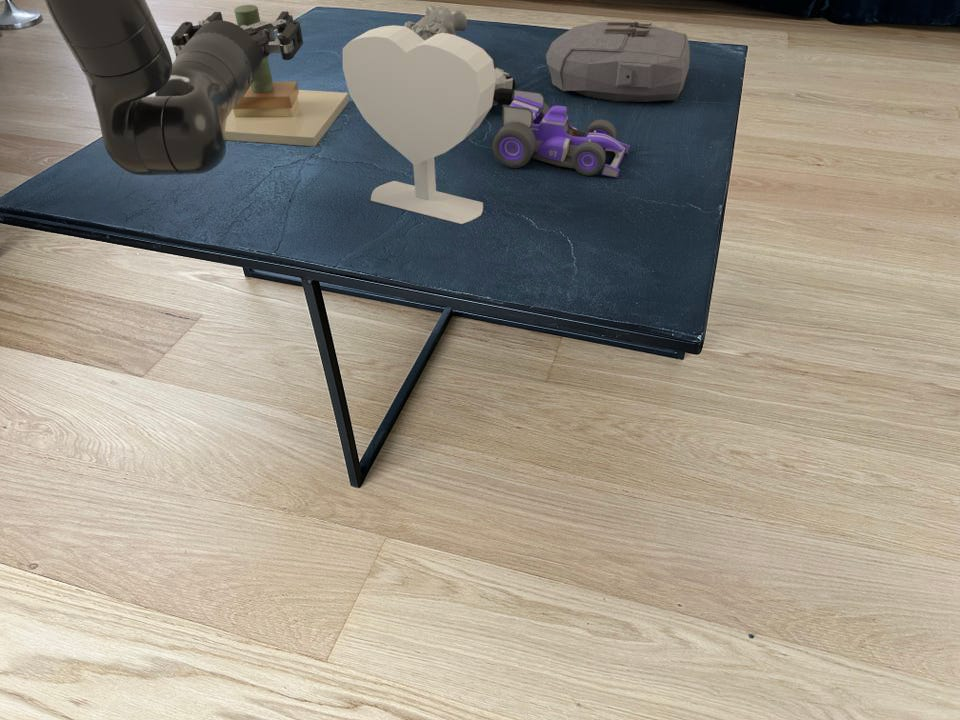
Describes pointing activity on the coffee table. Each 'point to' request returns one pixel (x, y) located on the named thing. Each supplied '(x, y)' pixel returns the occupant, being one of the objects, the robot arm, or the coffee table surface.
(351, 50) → the heart sculpture
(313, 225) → the coffee table surface
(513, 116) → the toy race car
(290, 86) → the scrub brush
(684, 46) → the soft grey pack
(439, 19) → the elephant statuette
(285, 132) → the tile board
